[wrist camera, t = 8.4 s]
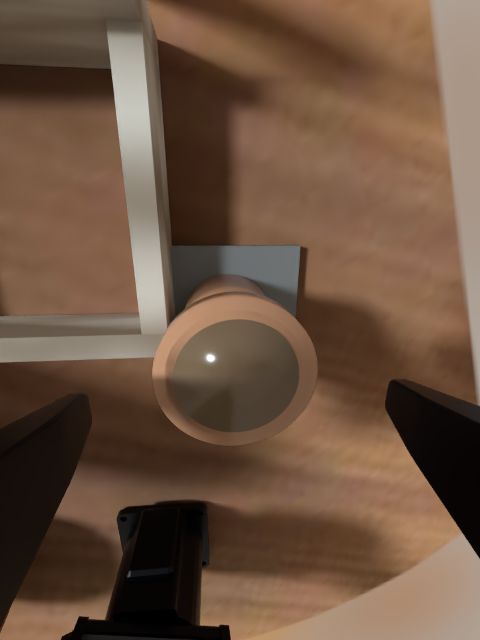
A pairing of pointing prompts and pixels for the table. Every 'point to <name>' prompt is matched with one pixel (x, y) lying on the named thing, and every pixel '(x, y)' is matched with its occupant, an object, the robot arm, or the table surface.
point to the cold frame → (137, 161)
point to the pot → (234, 364)
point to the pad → (238, 269)
